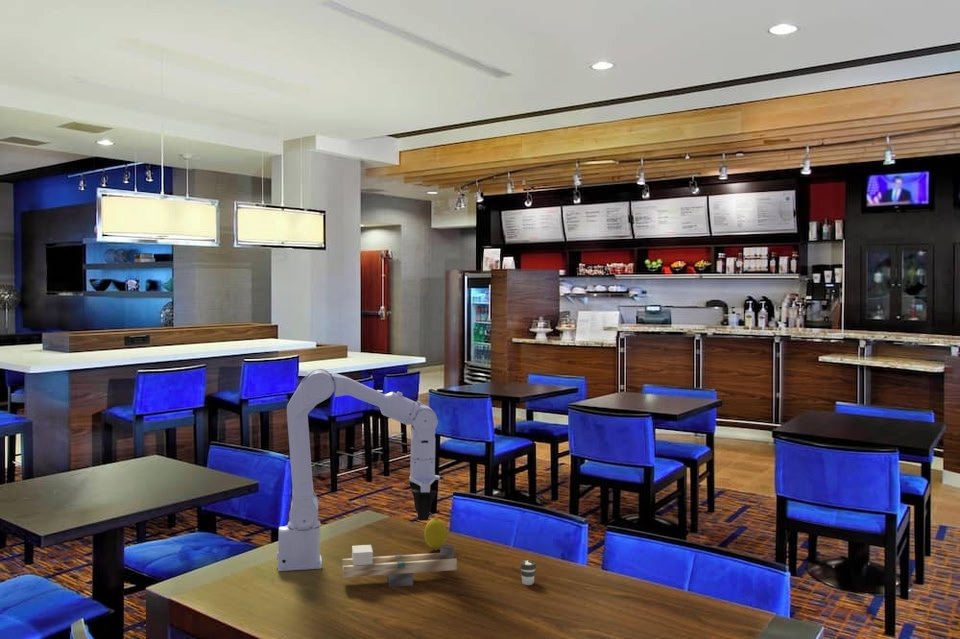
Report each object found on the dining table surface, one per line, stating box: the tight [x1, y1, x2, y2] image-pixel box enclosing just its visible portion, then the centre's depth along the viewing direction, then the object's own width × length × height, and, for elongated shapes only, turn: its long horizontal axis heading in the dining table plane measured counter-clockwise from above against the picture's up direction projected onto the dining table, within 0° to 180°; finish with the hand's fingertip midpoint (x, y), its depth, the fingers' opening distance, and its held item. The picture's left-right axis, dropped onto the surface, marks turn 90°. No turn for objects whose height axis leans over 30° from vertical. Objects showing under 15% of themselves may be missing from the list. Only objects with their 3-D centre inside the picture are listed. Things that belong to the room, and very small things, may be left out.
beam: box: [341, 544, 458, 588], centre depth 160 cm, size 24×6×7 cm, turn 103°
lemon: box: [423, 516, 448, 551], centre depth 180 cm, size 6×6×8 cm
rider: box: [351, 544, 374, 565], centre depth 158 cm, size 4×5×4 cm
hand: (421, 515), depth 174 cm, fingers open, 7 cm apart
